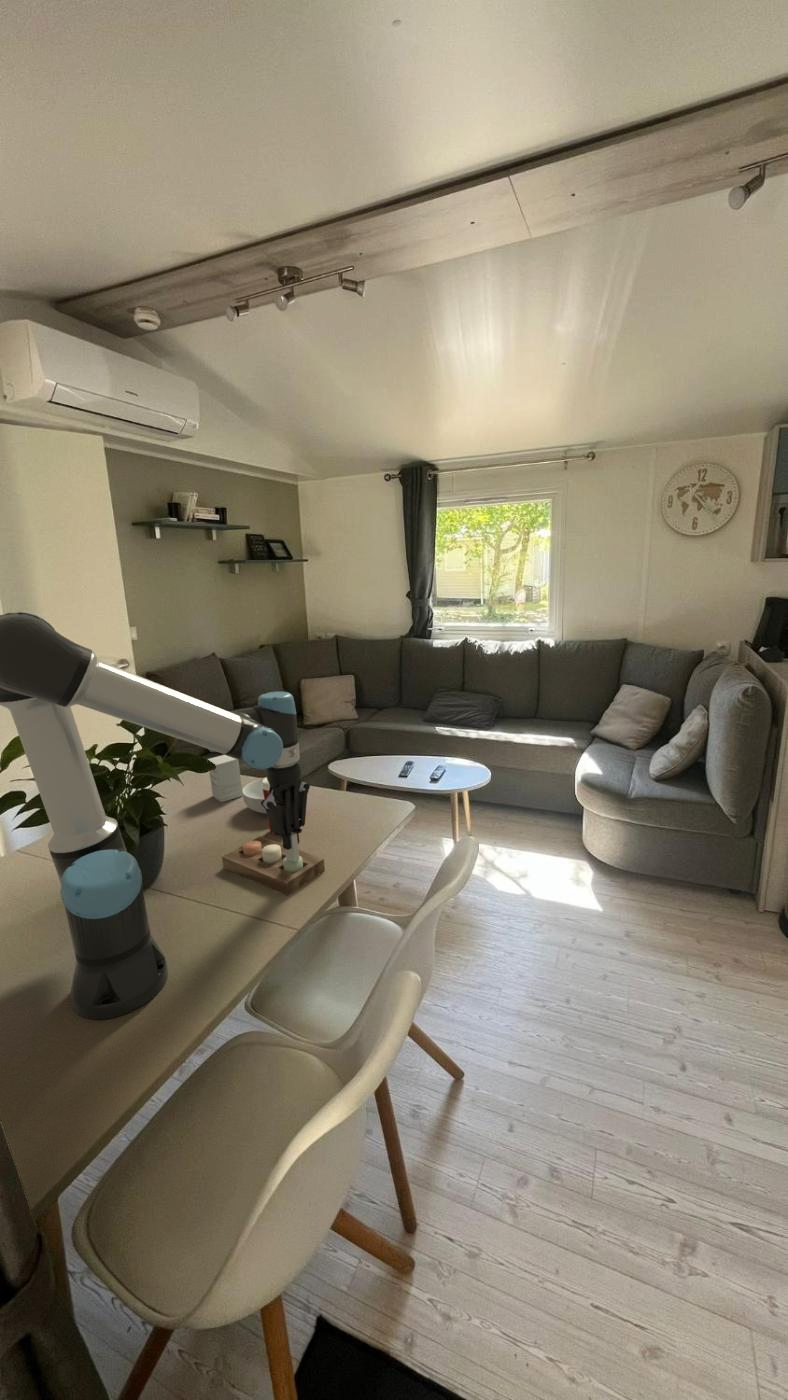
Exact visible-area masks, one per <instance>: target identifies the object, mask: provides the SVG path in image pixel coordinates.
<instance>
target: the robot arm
mask: <svg viewBox="0 0 788 1400" xmlns="http://www.w3.org/2000/svg"><path fill="white" fill-rule="evenodd" d="M294 699H295V698H294V696H293V694H291V693H290V692H288V691H271V692H266V693H263V694H261V695H259V696H258V702H257V705H255V706H252V707H247V708H241V709H235V710H230V711H227V710H225V709H223V708H220V707H218V706H215V705H213V704H210V703H208V702H205V701H203V700H200V699H198V698H195V697H194V696H190V695H189V694H185V693H182V692H180V691H177V690H176V689H173V688H170V687H167V686H165V685H162V684H161V683H158V682H154V681H153V680H150V679H147V678H145V677H142V676H140V675H138V674H135V673H132V672H130V671H127V670H125V669H123V668H120V667H117V666H115V665H113V664H110V663H107V662H104V661H103V660H100V659H98V657H97V655H96V653H95V651H94V650H93V649H91V648H88V647H85V646H83V645H80V644H78V643H75V642H74V641H72V640H70V639H69V638H67V637H65V636H63V635H62V634H60V633H59V632H58V631H56V630H55V628H54V627H53V626H52V625H51V624H50V623H49V622H48V621H47V620H45V619H44V618H42V617H40V616H38V615H35V614H33V613H28V612H22V611H19V612H7V613H4V614H3V613H2V614H1V615H0V706H1V707H4V708H6V709H8V711H10V715H11V717H12V719H13V722H14V725H15V728H16V731H17V734H18V737H19V739H20V742H21V745H22V748H23V750H24V753H25V756H26V758H27V763H28V764H29V768H30V770H31V773H32V776H33V779H34V782H35V784H36V787H37V790H38V792H39V795H40V798H41V802H42V803H43V804H42V805H43V807H44V809H45V812H46V816H47V818H48V821H49V824H50V827H51V829H52V832H53V835H52V837H51V838H50V840H49V841H48V844H47V847H48V851H49V853H50V856H51V859H52V861H53V864H54V867H55V871H56V873H57V876H58V879H59V882H60V898H61V901H62V903H63V905H64V909H65V915H66V919H67V924H68V928H69V933H70V937H71V943H72V946H73V951H74V957H75V966H74V970H73V975H72V977H73V978H72V984H71V987H70V988H71V989H70V998H71V1002H72V1007H73V1009H74V1011H75V1013H77V1014H78V1015H79V1016H80V1017H82V1018H86V1019H91V1020H106V1019H113V1018H116V1017H117V1018H118V1017H120V1016H123V1015H126V1014H129V1013H130V1012H131V1013H132V1012H133V1011H135V1010H137V1009H138V1008H140V1007H142V1006H143V1005H145V1004H146V1003H149V1002H150V1000H152V999H153V998H154V997H156V995H157V994H158V993H159V992H160V991H161V990H162V989H163V987H164V985H165V984H166V982H167V980H168V976H169V969H168V964H167V959H166V956H165V954H164V953H163V951H162V949H161V948H160V947H159V945H158V944H157V942H156V941H155V939H154V937H153V936H152V934H151V929H150V923H149V916H148V912H147V905H146V900H145V895H144V888H143V876H142V871H141V868H140V867H139V864H138V862H137V861H138V860H136V858H135V856H133V855H132V854H131V853H129V852H128V851H127V848H126V845H125V842H124V839H123V836H122V833H121V830H120V827H119V824H118V821H117V820H116V819H115V818H113V817H110V816H107V815H106V813H105V809H104V806H103V804H102V800H101V798H100V797H101V796H100V794H99V791H98V788H97V785H96V782H95V778H94V776H93V772H92V769H91V766H90V763H89V761H88V757H87V754H86V750H85V748H84V744H83V741H82V738H81V735H80V732H79V728H78V726H77V722H76V719H75V716H74V714H73V711H72V706H75V705H79V706H81V707H84V708H87V709H90V710H93V711H95V712H96V711H97V712H99V713H102V714H105V715H109V716H111V717H114V718H117V719H119V720H120V719H121V720H122V721H126V722H129V723H131V724H134V725H137V726H140V727H143V728H145V729H149V730H151V731H155V732H158V733H160V734H164V735H166V736H170V737H173V738H175V739H177V740H178V739H179V740H180V741H181V740H182V741H184V742H187V743H189V744H190V743H191V744H194V745H195V746H200V747H203V748H205V749H208V750H209V752H211V753H216V752H217V753H220V754H222V755H227V756H229V757H232V758H235V759H238V761H241V762H244V764H246V765H247V766H249V767H250V768H254V769H256V770H265V773H266V777H267V780H268V782H269V784H270V789H269V796H268V798H267V799H266V800H262V801H261V805H262V806H263V807H264V808H265V809H266V812H267V814H266V816H267V815H268V817H267V819H268V818H269V821H270V824H271V827H272V830H273V833H274V835H276V836H275V837H280V838H281V839H282V840H281V841H282V844H283V847H284V849H285V850H286V859H287V860H290V861H293V862H296V861H298V860H299V850H300V849H299V844H300V834H301V833H302V832H303V829H302V828H301V827H305V825H306V814H307V803H308V802H307V801H308V793H309V791H310V787H311V785H310V783H308V782H302V779H301V778H302V766H301V765H302V764H301V761H300V757H301V755H300V747H299V746H300V745H299V744H300V743H299V738H298V737H299V736H298V723H297V711H296V702H295V700H294ZM274 800H275V802H274ZM275 805H276V806H275ZM276 807H277V808H278V810H277V808H276ZM274 835H273V836H274Z"/></svg>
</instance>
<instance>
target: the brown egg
mask: <svg viewBox="0 0 788 1400" xmlns="http://www.w3.org/2000/svg"><path fill="white" fill-rule="evenodd" d="M242 846H243V854H244V855H246V856H249V857H253V856H255V855H257V854H258V853H260V852H262V847H261V842H259V841H252V840H250V841H247V842H245V843H243V844H242Z"/></svg>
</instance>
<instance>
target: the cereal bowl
mask: <svg viewBox="0 0 788 1400" xmlns="http://www.w3.org/2000/svg"><path fill="white" fill-rule="evenodd" d="M265 778H266V777H263V778H258V779H255V780H253V781H251V782H249V783H248V784H245V786H244V787H242V795H243V796H242V799H243V803H244V804H245V806H246V807H247V808H249V809H250V810H251V811H254V812H255V813H256V812H257V813H261V814H266V815H267V812H266V809H265V808H264V807H263V806H262V805H261V801H262V800H264V794H263V789H262V788H261V785H262V781H263V779H265Z"/></svg>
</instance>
